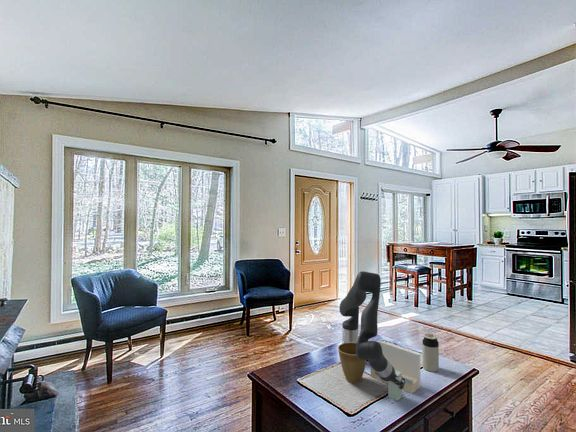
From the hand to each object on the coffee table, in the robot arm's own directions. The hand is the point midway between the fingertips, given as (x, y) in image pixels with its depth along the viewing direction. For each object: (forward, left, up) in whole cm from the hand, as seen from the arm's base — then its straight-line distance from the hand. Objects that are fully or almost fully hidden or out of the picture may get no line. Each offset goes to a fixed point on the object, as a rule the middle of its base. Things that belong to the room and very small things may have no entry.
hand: (396, 384), depth 145 cm
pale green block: (-1, -1, -5) cm, 5 cm away
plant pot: (-19, +12, -5) cm, 23 cm away
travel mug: (+24, +27, -5) cm, 36 cm away
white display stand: (+2, +12, -5) cm, 13 cm away
